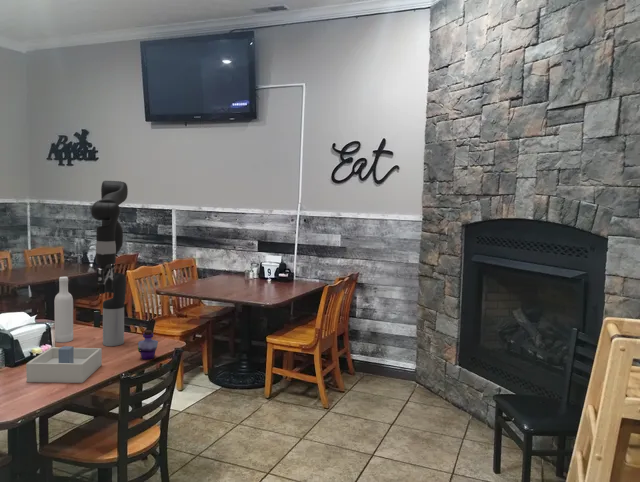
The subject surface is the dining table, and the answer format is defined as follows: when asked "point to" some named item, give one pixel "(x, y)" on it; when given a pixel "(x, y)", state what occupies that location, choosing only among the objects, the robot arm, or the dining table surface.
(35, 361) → the walled box
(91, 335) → the dining table surface
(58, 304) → the bottle
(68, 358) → the peg
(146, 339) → the potion bottle
